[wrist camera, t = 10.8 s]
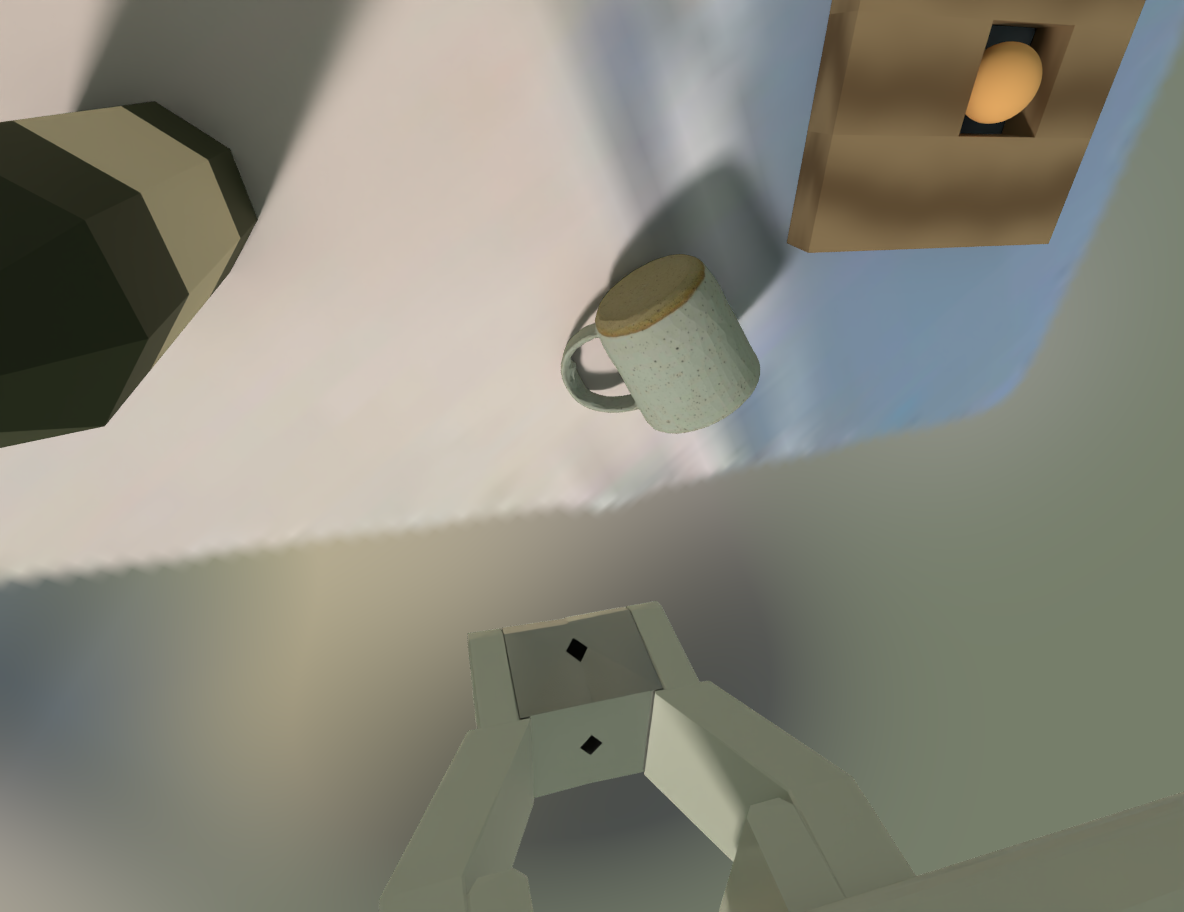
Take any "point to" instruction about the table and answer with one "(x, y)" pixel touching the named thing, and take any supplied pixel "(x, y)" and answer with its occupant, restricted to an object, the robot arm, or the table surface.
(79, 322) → the wine bottle
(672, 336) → the ceramic mug
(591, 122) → the table surface
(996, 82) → the rubber ball
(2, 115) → the table surface
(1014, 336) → the table surface
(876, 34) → the board
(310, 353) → the table surface
